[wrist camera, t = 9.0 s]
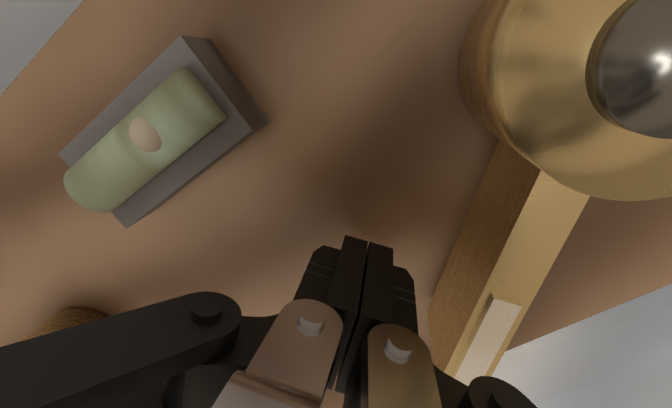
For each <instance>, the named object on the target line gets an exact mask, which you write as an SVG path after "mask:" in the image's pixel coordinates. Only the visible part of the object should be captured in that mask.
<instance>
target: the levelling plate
mask: <svg viewBox="0 0 672 408" xmlns="http://www.w3.org/2000/svg"><path fill="white" fill-rule="evenodd" d="M485 1H486V0H84V1H83V2H82V3H81V4H80V5H79V6H78V8H77V9H76V10H75V11H74V12H73V13H72V14H71V16H70V17H69V18H68V19H67V20H66V21H65V22H64V24H63V25H62V26H61V27H60V28H59V29H58V31H57V32H56V33H55V34H54V35H53V36H52V37H51V39H50V40H49V41H48V42H47V43H46V44H45V46H44V47H43V48H42V49H41V50H40V51H39V52H38V54H37V55H36V56H35V57H34V58H33V59H32V60H31V62H30V63H29V64H28V65H27V66H26V67H25V69H24V70H23V71H22V72H21V73H20V74H19V75H18V77H17V78H16V79H15V80H14V81H13V82H12V83H11V85H10V86H9V87H8V88H7V89H6V90H5V92H4V93H3V94H2V95H1V96H0V347H2V346H6V345H9V344H13V343H16V342H18V341H19V340H21V339H22V338H23V337H25V336H26V335H27V334H29V333H30V332H31V331H33V330H34V329H35V328H37V327H38V326H39V325H40V324H42V323H43V322H44V321H46V320H47V319H48V318H50V317H51V316H52V315H54V314H55V313H57V312H59V311H62V310H66V309H73V308H75V309H86V310H90V311H94V312H96V313H99V314H101V315H103V316H105V317H109V316H112V315H116V314H119V313H123V312H126V311H130V310H134V309H137V308H141V307H144V306H148V305H151V304H155V303H158V302H162V301H166V300H169V299H173V298H176V297H180V296H183V295H187V294H190V293H195V292H202V291H210V292H217V293H221V294H224V295H226V296H228V297H230V298H232V299H233V300H234V301H235V302H236V303H237V304H238V305H239V307H240V309H241V313H242V316H253V317H266V316H272V315H276V314H279V313H280V311H281V310H282V308H283V307H284V306H285V305H286V304H287V303H289V302H291V301H293V298H294V296H295V294H296V291H297V289H298V287H299V284H300V282H301V280H302V277H303V275H304V273H305V271H306V268H307V266H308V263H309V261H310V259H311V256H312V254H313V252H314V251H315V250H316V249H318V248H320V247H321V246H323V245H326V246H329V247H333V248H336V249H339V250H341V247H342V244H343V240H344V237H345V235H349V236H352V237H355V238H359V239H362V240H366V241H368V244H369V242H373V243H376V244H380V245H383V246H387V247H390V248H393V265H394V266H398V267H401V268H404V269H407V271H408V272H409V274H410V275H411V277H412V278H413V280H414V287H415V293H414V294H415V299H416V302H415V304H416V310H417V322H418V333H419V337H420V338H421V339H422V340H423V341H424V342H425V343H426V345H427V346H428V348H429V350H430V353H431V358H432V362H433V364H434V360H433V353H432V346H431V339H430V332H429V325H428V318H427V309H428V307H429V305H430V302H431V300H432V298H433V295H434V293H435V290H436V288H437V286H438V283H439V281H440V279H441V276H442V274H443V271H444V269H445V267H446V264H447V262H448V260H449V257H450V255H451V252H452V250H453V248H454V245H455V243H456V241H457V238H458V236H459V234H460V231H461V229H462V226H463V224H464V222H465V219H466V217H467V215H468V212H469V210H470V207H471V205H472V203H473V200H474V198H475V196H476V193H477V191H478V188H479V186H480V184H481V181H482V179H483V177H484V174H485V172H486V169H487V167H488V165H489V162H490V160H491V158H492V155H493V153H494V151H495V148H496V146H497V143H498V141H499V139H498V138H497V137H495V136H494V135H493V134H491V133H490V132H489V131H487V130H486V129H484V128H483V127H482V126H481V125H480V124H479V123H478V122H477V121H476V119H475V118H474V117H473V116H472V114H471V113H470V111H469V109H468V108H467V106H466V104H465V101H464V99H463V96H462V93H461V89H460V84H459V75H458V67H459V56H460V50H461V46H462V43H463V39H464V36H465V34H466V31H467V29H468V27H469V25H470V23H471V21H472V19H473V17H474V16H475V14H476V13H477V11H478V10H479V8H480V7H481V5H482V4H483V3H484V2H485ZM367 247H368V245H367ZM671 283H672V196H671V197H667V198H661V199H653V200H646V201H619V200H607V199H602V198H598V197H593V196H590V197H589V199H588V201H587V203H586V205H585V206H584V208H583V210H582V212H581V214H580V216H579V217H578V219H577V221H576V223H575V225H574V226H573V228H572V230H571V232H570V234H569V236H568V237H567V239H566V241H565V243H564V245H563V246H562V248H561V250H560V252H559V254H558V255H557V257H556V259H555V261H554V263H553V265H552V266H551V268H550V270H549V272H548V274H547V275H546V277H545V279H544V281H543V283H542V285H541V286H540V288H539V290H538V292H537V294H536V295H535V297H534V299H533V301H532V303H531V305H530V306H529V308H528V310H527V312H526V314H525V315H524V317H523V319H522V321H521V323H520V325H519V326H518V328H517V330H516V332H515V334H514V335H513V337H512V339H511V341H510V343H509V345H508V346H507V348H506V350H505V351H507V350H510V349H512V348H514V347H517V346H519V345H522V344H524V343H527V342H529V341H532V340H534V339H536V338H539V337H541V336H544V335H546V334H549V333H551V332H554V331H556V330H558V329H561V328H563V327H566V326H568V325H571V324H573V323H576V322H578V321H580V320H583V319H585V318H588V317H590V316H593V315H595V314H598V313H600V312H602V311H605V310H607V309H610V308H612V307H615V306H617V305H620V304H622V303H624V302H627V301H629V300H632V299H634V298H637V297H639V296H642V295H644V294H646V293H649V292H651V291H654V290H656V289H659V288H661V287H664V286H666V285H668V284H671ZM337 375H338V373H337ZM336 380H337V376H336V379H335V382H334V385H333V388H332V390H329V389H327V390H326V393H325V396H324V399H323V402H322V405H321V407H320V408H342V407H343V402H344V395H345V394H343V393H339V392H336V391H335V386H336Z"/></svg>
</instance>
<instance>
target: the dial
mask: <svg viewBox="0 0 672 408" xmlns="http://www.w3.org/2000/svg"><path fill="white" fill-rule="evenodd" d="M458 75H459V84H460V89H461V93H462V96H463V99H464V101H465V104H466V106H467V108H468V109H469V111H470V113H471V114H472V116H473V117H474V118H475V119H476V121H477V122H478V123H479V124H480V125H481V126H482V127H483V128H484V129H486V130H487V131H489V132H490V133H491V134H493V135H494V136H495V137H497V138H498V139H499V141H498V143H497V146H496V148H495V151H494V153H493V155H492V158H491V160H490V162H489V165H488V167H487V169H486V172H485V174H484V177H483V179H482V181H481V184H480V186H479V188H478V191H477V193H476V196H475V198H474V200H473V203H472V205H471V207H470V210H469V212H468V215H467V217H466V219H465V222H464V224H463V226H462V229H461V231H460V234H459V236H458V238H457V241H456V243H455V245H454V248H453V250H452V252H451V255H450V257H449V260H448V262H447V264H446V267H445V269H444V271H443V274H442V276H441V279H440V281H439V283H438V286H437V288H436V290H435V293H434V295H433V298H432V300H431V302H430V305H429V307H428V309H427V318H428V325H429V332H430V339H431V346H432V353H433V360H434V365H435V366H436V367H437V368H439V369H440V370H441V371H443V372H444V373H446V374H447V375H449V376H451V377H453V378H454V379H456V380H458V381H460V382H462V383H463V384H465V385H467V386H469V384H470V382H471V381H472V380H473V379H474V378H476V377H479V376H490V377H491V375H492V374H493V372H494V370H495V368H496V366H497V364H498V363H499V361H500V359H501V357H502V355H503V354H504V352H505V350H506V348H507V346H508V345H509V343H510V341H511V339H512V337H513V335H514V334H515V332H516V330H517V328H518V326H519V325H520V323H521V321H522V319H523V317H524V315H525V314H526V312H527V310H528V308H529V306H530V305H531V303H532V301H533V299H534V297H535V295H536V294H537V292H538V290H539V288H540V286H541V285H542V283H543V281H544V279H545V277H546V275H547V274H548V272H549V270H550V268H551V266H552V265H553V263H554V261H555V259H556V257H557V255H558V254H559V252H560V250H561V248H562V246H563V245H564V243H565V241H566V239H567V237H568V236H569V234H570V232H571V230H572V228H573V226H574V225H575V223H576V221H577V219H578V217H579V216H580V214H581V212H582V210H583V208H584V206H585V205H586V203H587V201H588V199H589V197H590V196H593V197H598V198H602V199H607V200H619V201H646V200H653V199H661V198H667V197H671V196H672V0H486V1H485V2H484V3H483V4H482V5H481V7H480V8H479V10H478V11H477V13H476V14H475V16H474V17H473V19H472V21H471V23H470V25H469V27H468V29H467V31H466V34H465V36H464V39H463V43H462V46H461V50H460V56H459V67H458Z"/></svg>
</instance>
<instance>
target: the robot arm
mask: <svg viewBox="0 0 672 408" xmlns="http://www.w3.org/2000/svg"><path fill="white" fill-rule="evenodd" d="M367 245H368V247H367ZM414 293H415V287H414V280H413V278H412V277H411V275H410V274H409V272H408V271H407V269H404V268H401V267H398V266H394V265H393V248H390V247H387V246H383V245H380V244H376V243H373V242H369V244H368V241H366V240H362V239H359V238H355V237H352V236H349V235H345V237H344V240H343V244H342V247H341V250H339V249H336V248H333V247H329V246H326V245H323V246H321V247H320V248H318V249H316V250H315V251H314V252H313V254H312V256H311V259H310V261H309V263H308V266H307V268H306V271H305V273H304V275H303V277H302V280H301V282H300V284H299V287H298V289H297V291H296V294H295V296H294V298H293V301H291V302H289V303H287V304H286V305H285V306H284V307H283V308H282V310H281V311H280V313H279V314H276V315H272V316H266V317H253V316H242V313H241V309H240V307H239V305H238V304H237V303H236V302H235V301H234V300H233V299H232V298H230V297H228V296H226V295H224V294H221V293H217V292H210V291H202V292H195V293H190V294H187V295H183V296H180V297H176V298H173V299H169V300H166V301H162V302H158V303H155V304H151V305H148V306H144V307H141V308H137V309H134V310H130V311H126V312H123V313H119V314H116V315H112V316H109V317H105V318H102V319H98V320H94V321H91V322H87V323H84V324H80V325H77V326H73V327H70V328H66V329H63V330H59V331H55V332H52V333H48V334H45V335H41V336H38V337H34V338H31V339H27V340H23V341H20V342H16V343H13V344H9V345H6V346H2V347H0V408H320V407H321V405H322V402H323V399H324V396H325V393H326V390H327V389H329V390H332V388H333V385H334V382H335V379H336V376H337V380H336V386H335V391H336V392H339V393H343V394H345V395H344V402H343V407H342V408H537V407H536V406H535V405H534V404H533V403H532V402H531V401H530V400H529V399H528V398H527V397H526V396H525V395H523V394H522V393H521V392H520V391H519V390H518V389H516V388H515V387H513V386H512V385H510V384H509V383H507V382H505V381H503V380H500V379H498V378H494V377H490V376H479V377H476V378H474V379H473V380H472V381H471V382H470V384H469V386H467V385H465V384H463V383H462V382H460V381H458V380H456V379H454V378H453V377H451V376H449V375H447V374H446V373H444V372H443V371H441V370H440V369H439V368H437V367H436V366H435V365H434V364H433V362H432V358H431V353H430V350H429V348H428V346H427V345H426V343H425V342H424V341H423V340H422V339H421V338H420V337H419V333H418V322H417V310H416V304H415V302H416V299H415V294H414ZM337 373H338V375H337Z"/></svg>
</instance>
